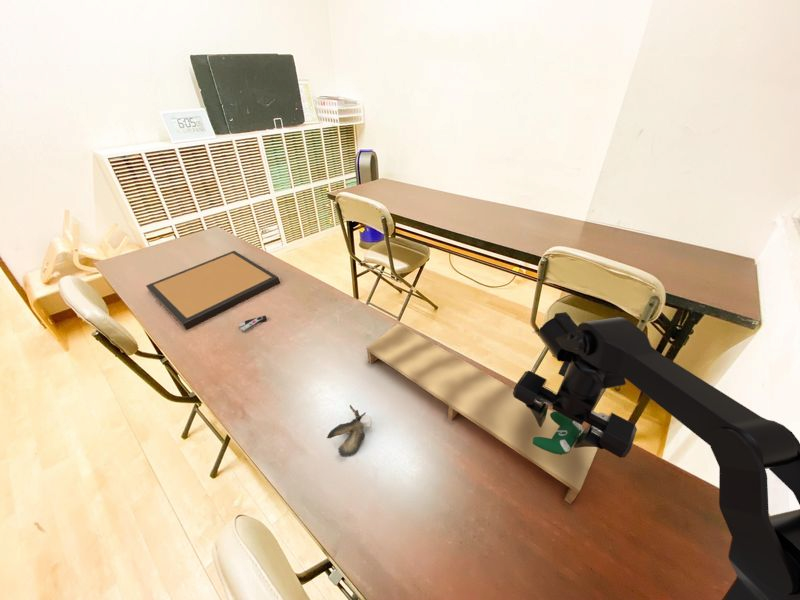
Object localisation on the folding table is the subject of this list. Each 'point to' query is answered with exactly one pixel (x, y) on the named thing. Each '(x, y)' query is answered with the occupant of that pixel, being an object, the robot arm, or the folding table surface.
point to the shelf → (481, 402)
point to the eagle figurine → (352, 433)
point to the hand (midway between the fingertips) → (557, 435)
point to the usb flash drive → (251, 323)
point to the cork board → (211, 288)
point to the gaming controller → (560, 435)
